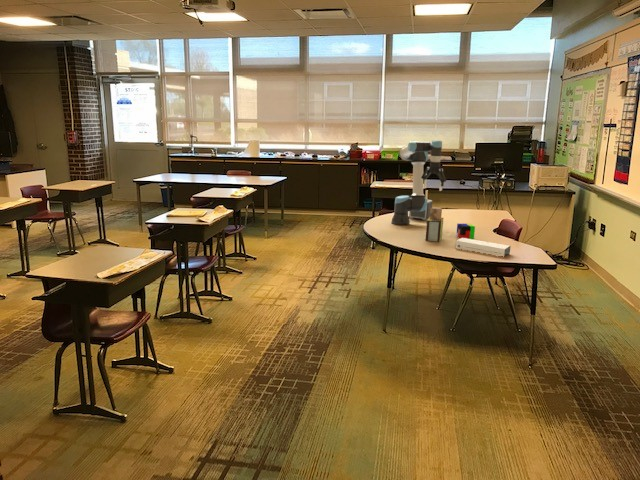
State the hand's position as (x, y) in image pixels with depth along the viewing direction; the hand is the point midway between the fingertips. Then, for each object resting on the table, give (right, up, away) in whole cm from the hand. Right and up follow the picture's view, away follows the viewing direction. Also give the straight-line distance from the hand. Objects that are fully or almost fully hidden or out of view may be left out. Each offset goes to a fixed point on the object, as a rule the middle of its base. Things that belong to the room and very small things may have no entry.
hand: (432, 189), depth 379 cm
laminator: (+25, -47, -37) cm, 65 cm away
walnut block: (0, -23, -10) cm, 25 cm away
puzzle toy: (+24, -37, 0) cm, 44 cm away
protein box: (-1, -38, -6) cm, 39 cm away
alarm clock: (+4, -20, +66) cm, 69 cm away
